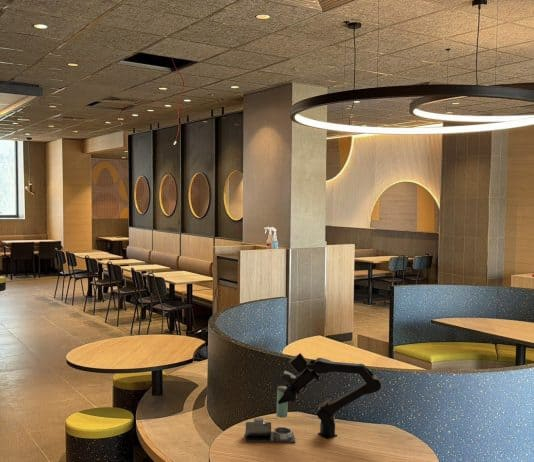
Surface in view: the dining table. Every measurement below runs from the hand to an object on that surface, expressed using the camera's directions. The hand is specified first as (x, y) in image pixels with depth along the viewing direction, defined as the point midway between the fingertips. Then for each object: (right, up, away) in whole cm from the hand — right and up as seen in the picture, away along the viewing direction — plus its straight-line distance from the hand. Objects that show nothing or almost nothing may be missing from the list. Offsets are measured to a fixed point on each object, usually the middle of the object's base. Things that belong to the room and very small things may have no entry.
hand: (279, 401), depth 271 cm
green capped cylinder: (+1, -7, 0) cm, 7 cm away
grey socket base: (-4, -14, -9) cm, 17 cm away
